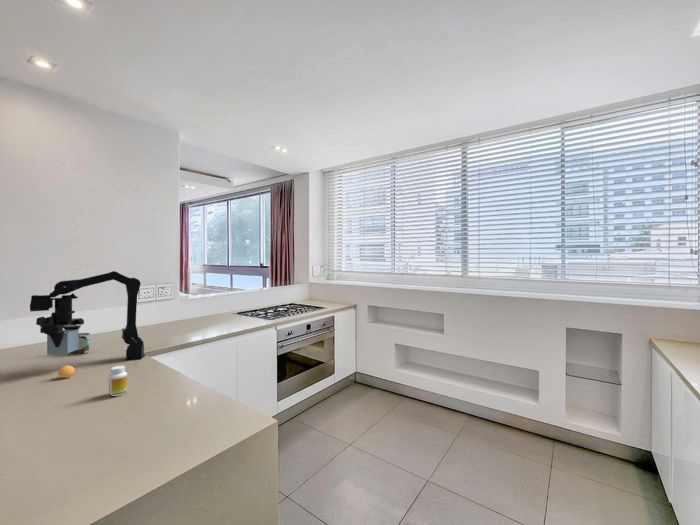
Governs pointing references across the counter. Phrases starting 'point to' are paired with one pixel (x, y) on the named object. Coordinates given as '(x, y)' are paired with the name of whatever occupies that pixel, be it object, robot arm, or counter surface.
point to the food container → (83, 344)
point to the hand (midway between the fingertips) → (63, 344)
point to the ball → (66, 371)
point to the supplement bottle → (118, 381)
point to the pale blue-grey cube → (64, 343)
